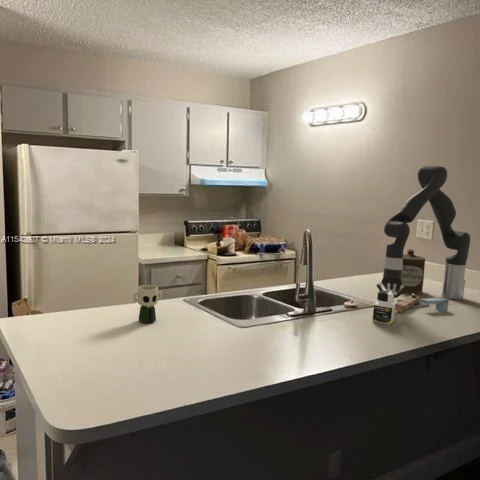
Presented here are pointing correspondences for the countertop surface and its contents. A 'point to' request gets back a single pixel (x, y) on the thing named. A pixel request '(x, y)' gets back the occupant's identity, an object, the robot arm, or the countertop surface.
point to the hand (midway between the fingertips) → (389, 306)
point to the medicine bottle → (384, 308)
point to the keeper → (437, 303)
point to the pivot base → (417, 303)
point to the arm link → (406, 303)
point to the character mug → (147, 302)
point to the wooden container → (412, 273)
